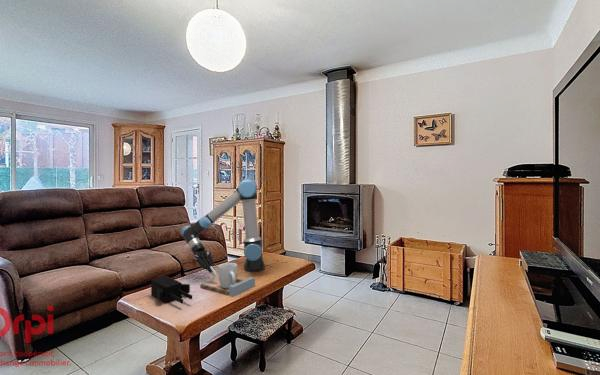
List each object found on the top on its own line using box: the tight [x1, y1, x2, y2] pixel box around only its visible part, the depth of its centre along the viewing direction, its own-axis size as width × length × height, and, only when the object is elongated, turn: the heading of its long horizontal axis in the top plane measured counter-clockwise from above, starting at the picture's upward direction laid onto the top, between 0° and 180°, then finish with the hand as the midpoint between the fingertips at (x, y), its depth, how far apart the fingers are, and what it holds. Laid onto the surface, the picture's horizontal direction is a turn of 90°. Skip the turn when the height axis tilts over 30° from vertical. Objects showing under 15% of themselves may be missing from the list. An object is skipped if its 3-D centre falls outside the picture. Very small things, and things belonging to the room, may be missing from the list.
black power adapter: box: [150, 275, 193, 304], centre depth 159 cm, size 16×9×30 cm
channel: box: [199, 278, 244, 296], centre depth 178 cm, size 23×19×2 cm
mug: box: [217, 262, 238, 290], centre depth 176 cm, size 15×11×13 cm
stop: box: [228, 276, 256, 297], centre depth 171 cm, size 3×18×5 cm, turn 148°
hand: (215, 275), depth 183 cm, fingers closed
